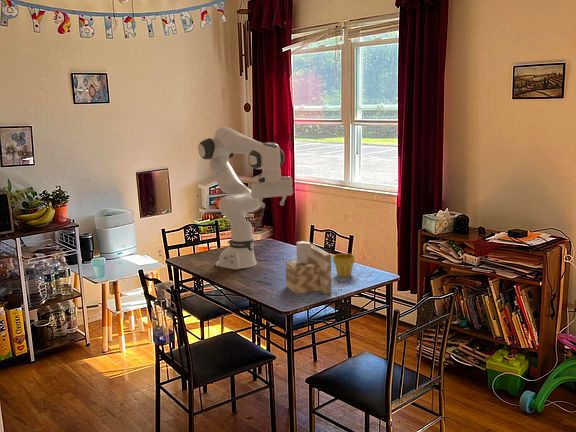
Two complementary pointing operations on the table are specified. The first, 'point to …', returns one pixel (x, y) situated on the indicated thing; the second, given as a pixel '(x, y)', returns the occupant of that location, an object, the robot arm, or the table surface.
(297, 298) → the table surface
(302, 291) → the tan blocky piece
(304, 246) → the grey brown tall block
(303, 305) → the table surface
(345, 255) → the plant pot
